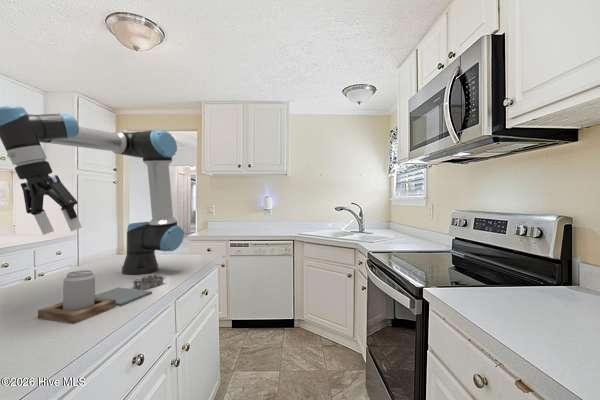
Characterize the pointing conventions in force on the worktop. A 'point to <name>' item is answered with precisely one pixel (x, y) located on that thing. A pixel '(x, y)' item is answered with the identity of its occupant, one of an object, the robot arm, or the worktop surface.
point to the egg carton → (148, 282)
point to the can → (78, 290)
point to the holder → (73, 317)
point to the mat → (123, 295)
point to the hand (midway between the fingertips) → (62, 231)
